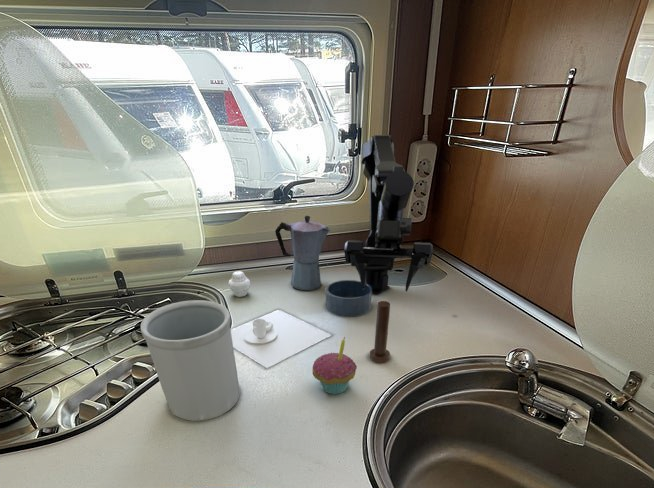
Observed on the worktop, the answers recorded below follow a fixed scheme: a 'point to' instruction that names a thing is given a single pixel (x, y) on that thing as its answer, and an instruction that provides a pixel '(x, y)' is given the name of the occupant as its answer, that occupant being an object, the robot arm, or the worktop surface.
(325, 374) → the cupcake
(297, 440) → the worktop surface
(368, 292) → the bowl
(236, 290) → the white lidded jar
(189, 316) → the utensil holder
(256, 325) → the teacup and saucer
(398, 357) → the worktop surface
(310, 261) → the moka pot
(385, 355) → the brown flanged peg
